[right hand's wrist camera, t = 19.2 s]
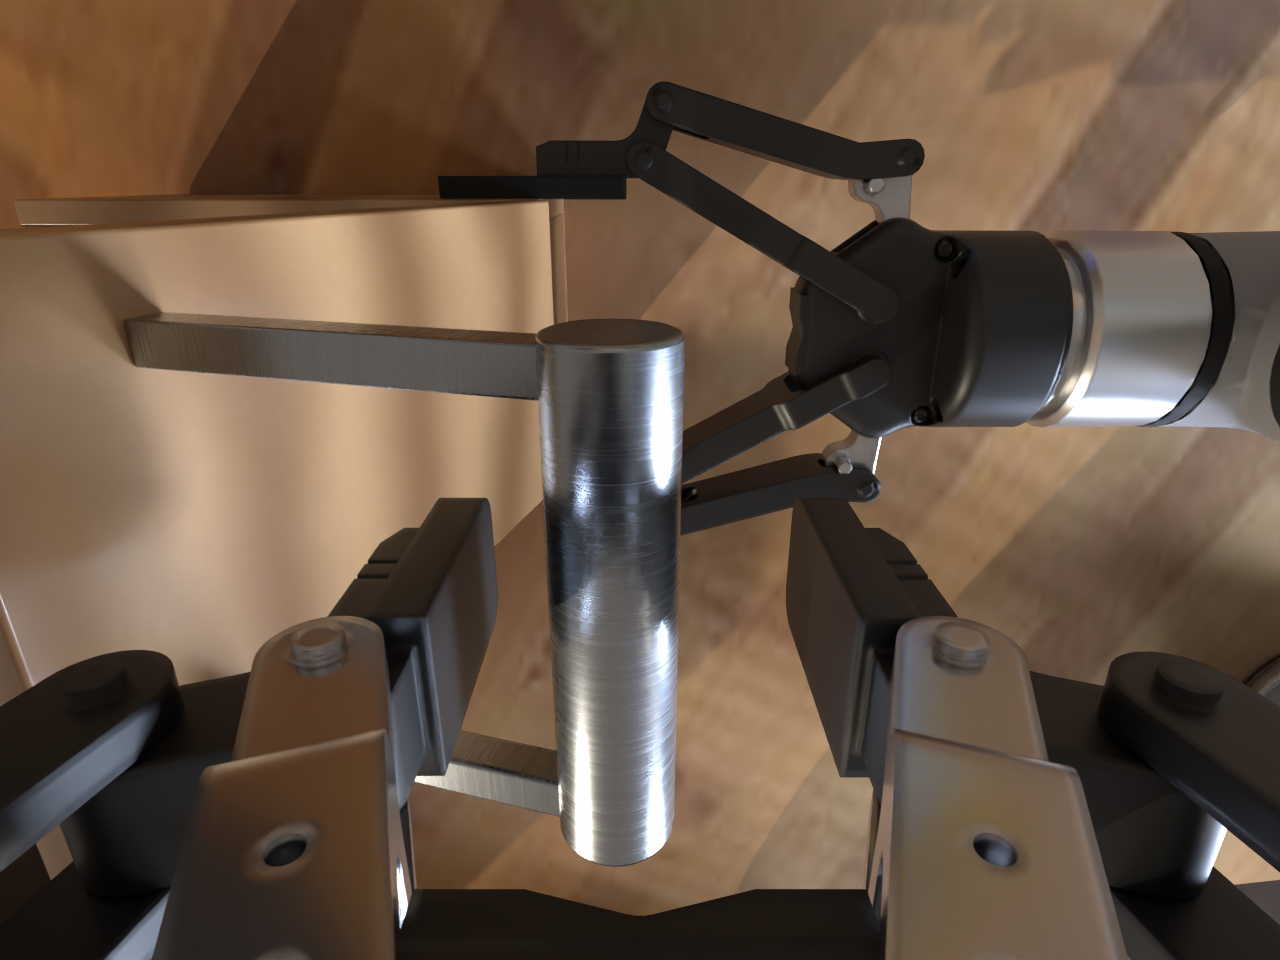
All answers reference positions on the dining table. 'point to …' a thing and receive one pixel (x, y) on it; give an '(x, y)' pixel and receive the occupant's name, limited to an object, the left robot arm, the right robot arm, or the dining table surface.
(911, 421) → the left robot arm
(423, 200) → the chest
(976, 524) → the dining table surface
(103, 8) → the dining table surface
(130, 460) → the lid
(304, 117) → the dining table surface
